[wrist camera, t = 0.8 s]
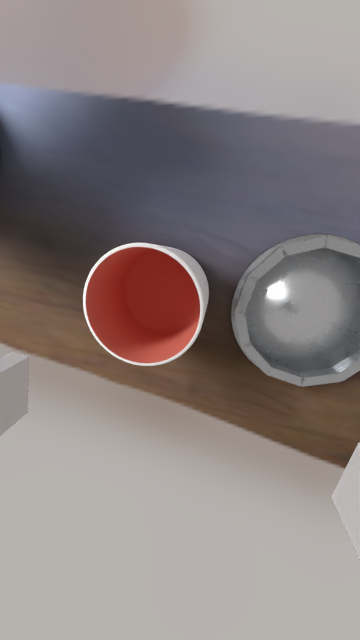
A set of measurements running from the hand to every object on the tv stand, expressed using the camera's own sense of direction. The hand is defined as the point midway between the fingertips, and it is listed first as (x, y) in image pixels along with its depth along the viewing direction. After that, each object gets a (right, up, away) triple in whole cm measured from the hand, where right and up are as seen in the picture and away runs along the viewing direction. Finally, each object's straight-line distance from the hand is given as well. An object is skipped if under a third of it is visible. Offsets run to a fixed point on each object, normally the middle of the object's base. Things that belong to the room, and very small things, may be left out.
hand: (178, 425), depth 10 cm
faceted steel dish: (+14, +5, +18) cm, 23 cm away
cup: (-1, +8, +20) cm, 21 cm away
